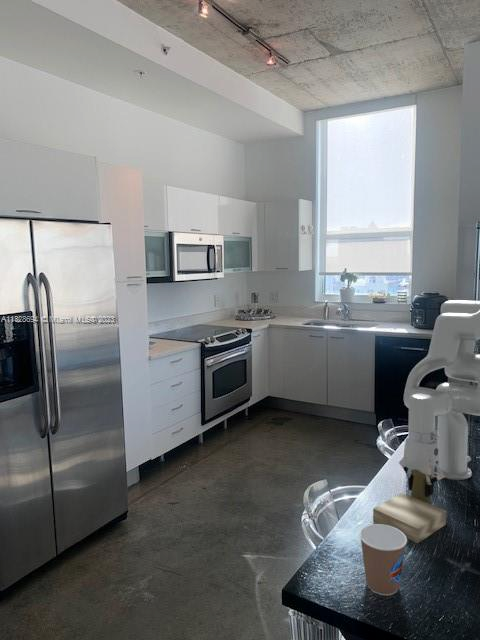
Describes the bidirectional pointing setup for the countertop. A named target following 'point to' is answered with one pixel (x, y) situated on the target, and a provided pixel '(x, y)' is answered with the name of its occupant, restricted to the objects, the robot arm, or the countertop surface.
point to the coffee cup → (383, 557)
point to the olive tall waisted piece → (419, 487)
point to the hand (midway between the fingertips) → (420, 491)
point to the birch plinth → (410, 516)
